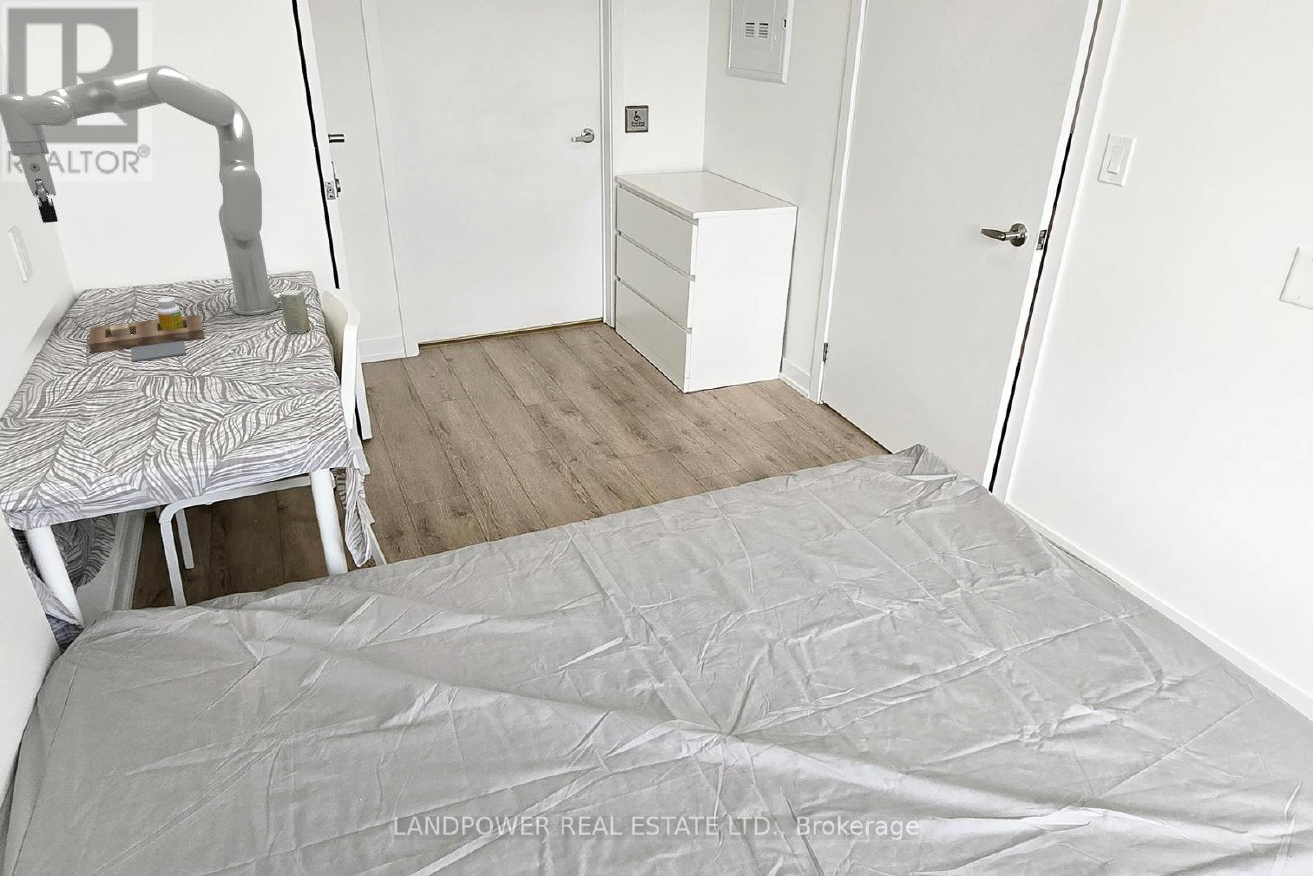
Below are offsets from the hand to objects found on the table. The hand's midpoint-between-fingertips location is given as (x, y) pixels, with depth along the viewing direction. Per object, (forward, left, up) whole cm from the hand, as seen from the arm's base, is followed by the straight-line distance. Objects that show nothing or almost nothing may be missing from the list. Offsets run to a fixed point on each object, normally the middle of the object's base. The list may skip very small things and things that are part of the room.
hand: (49, 218), depth 217 cm
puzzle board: (-16, +13, -30) cm, 36 cm away
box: (-52, +24, -31) cm, 65 cm away
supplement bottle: (-22, +13, -30) cm, 40 cm away
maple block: (-10, +13, -30) cm, 34 cm away
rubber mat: (-18, +26, -30) cm, 44 cm away
